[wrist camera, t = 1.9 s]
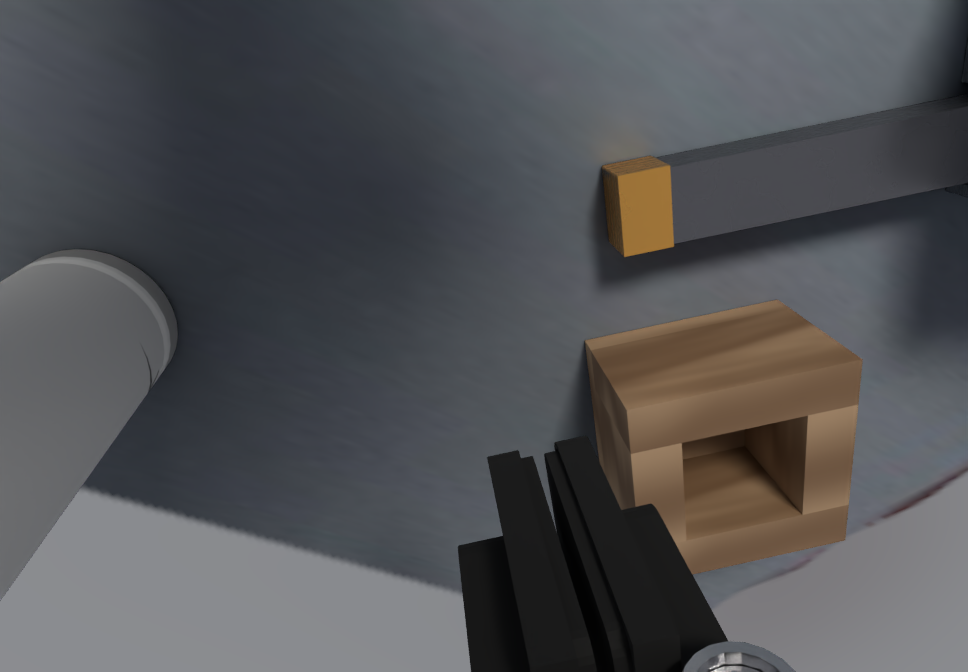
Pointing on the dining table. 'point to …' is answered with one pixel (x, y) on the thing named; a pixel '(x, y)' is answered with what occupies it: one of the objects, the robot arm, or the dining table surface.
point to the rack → (730, 430)
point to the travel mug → (69, 382)
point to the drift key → (785, 175)
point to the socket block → (964, 189)
